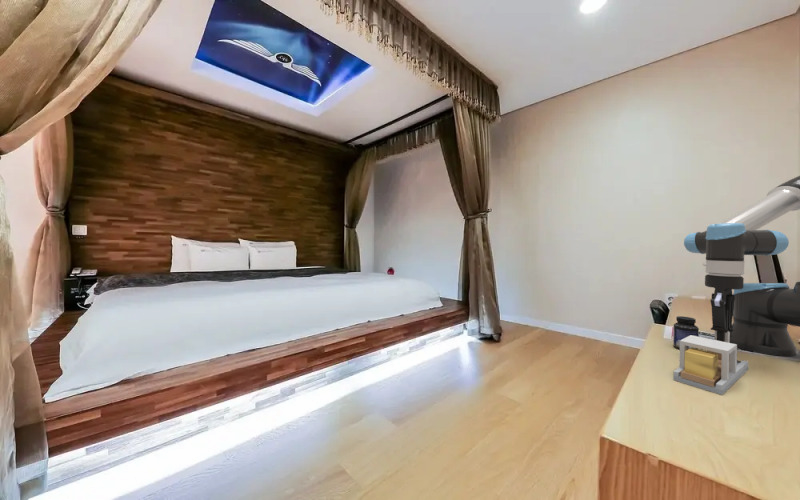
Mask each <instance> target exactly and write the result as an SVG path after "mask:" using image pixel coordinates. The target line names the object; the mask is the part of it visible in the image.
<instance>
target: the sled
mask: <svg viewBox="0 0 800 500" xmlns="http://www.w3.org/2000/svg"><path fill="white" fill-rule="evenodd" d="M729 364H730V354H729ZM721 365H722V354H721V353H717V352H712V351H708V350H703V349H699V348H698V349H694V348H690V349H688V350H686V351H685V369H684V370H683V371H681V378H685V379H688V380H691V381H695V382H698V383H701V384H704V385H708V386H711V387H715V386H716V383H717V382H719V381H720V380H721Z"/></svg>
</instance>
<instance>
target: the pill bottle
mask: <svg viewBox="0 0 800 500" xmlns="http://www.w3.org/2000/svg"><path fill="white" fill-rule="evenodd" d="M676 321H677V322H674V324H673V347H674V348H676V349H677V348H678V350H680V340H682V339H684V338H686V337H688V336H690V335H692V336H697V337H700V336H699V335H700V334H699V327H698V326H697V325H696V318H693V317H689V316H679V315H678V316H676ZM688 349H689V346H686V350H688ZM695 349H699V348H695Z"/></svg>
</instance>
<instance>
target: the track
mask: <svg viewBox="0 0 800 500" xmlns="http://www.w3.org/2000/svg"><path fill="white" fill-rule="evenodd" d="M686 346H689V349H690V348H694V349H695V348H698V349H699V350H703V351H707V350H708V351H712V352H717V353H721V354H722V365H721V380H720V381H719V382H717V383H716V386H715V387H711V386H708V385H704V384H701V383H698V382H695V381H691V380H688V379H685V378H681V371H683V370H684V369H685V351H686ZM737 350H738V348H737V344H732V343H727V342H722V341H717V340H715V339H711V338H707V337H703V336H702V337H701V336H699V337H697V336H692V335H690V336H688V337H686V338H684V339H682V340H680V349H679V360H678V361H679V367H678V368H676V369H675V370H673V374H672V375H673V376H672V378H673V379H672V380H673V381H675V382H679V383H683V384H684V385H688V386H692V387H695V388H698V389H701V390H705V391H707V392H712V393H714V394H718V395H720V396H723V394H725V393H726V392H727V390H729V389H730V388H731V387H732V386H733V385H734V384H735V383H736V382H737V381H738V380H740V378H741V377H742V376H744V374H745V373H747V371H749V361H748V360H744V359H743V360H741V361H742V362H740V363H737V360H738V359H737V355H738V351H737ZM729 354H730V364H729Z"/></svg>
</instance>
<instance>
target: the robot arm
mask: <svg viewBox="0 0 800 500" xmlns="http://www.w3.org/2000/svg"><path fill="white" fill-rule="evenodd" d="M799 210H800V175H797V176H796V177H795V176H794V178H790V179H789V180H787V181H785V182H783V183H781V184H779V185H778V186H775V187H774V188H772V189H771V190H769V191H768V192H767V194H766V196H765V197H763V198H760V200H758V201H756V202H754V203H752V204H750V205H749V206H747V207H745V208H744V209H742V210H740V211H738V212H737V213H735V214H733V215H731V216H730V217H728V218H726V219H724V220H722V221H721V222H719V223H710V224H709V225H708V226H707V227H706V230H704V231H702V232H701V231H697V232H692V233H691V232H690V233H688V234H687V235H686V236H685V238H684V240H683V246H684V247H685V249H686V251H688V252H689V253H692V254H701V255H705V262H703V263H702V265H703V266H704V267H705V273H706V275H705V276H704V285H705V286H706V287H708V288H713V289H714V292H713V293H711V298H710V305H711V319H712V320H711V321H712V322H711V323H712V327H710V330H711V331H714V340H717V341H722V342H727V343H732V344H737V349H741V350H744V351H749V352H753V353H760V354H765V355H772V356H780V357H781V356H782V357H793V356H796V355H797V348H796V345H795V343H794V341H793V339H792V337H791V335H790V332H789V330H788V325H790V326H794V327H798V328H799V327H800V280H797V281H796V282H795V284H794V286H793V288H790V286H789V284H788V283H784V282H778V283H777V282H775V283H774V282H772V283H771V282H768V283H767V282H756V283H755V282H745V283H744V281H745V279H744V277H743V275H744V274H745V256H767V257H768V256H773V255H774V256H775V255H779V254H782V253H783V252H784V251H786V250H787V248H788V247H789V242H790V241H789V238H788V237H787V235H786V234H784V233H783V232H780V231H778V230H770V229H761V228H762V227H764V226H766V225H768V224H770V223H772V222H773V221H775V220H777V219H779V218H780V217H782V216H784V215H786V214H787V213H789V212H795V211H796V212H797V211H799Z"/></svg>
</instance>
